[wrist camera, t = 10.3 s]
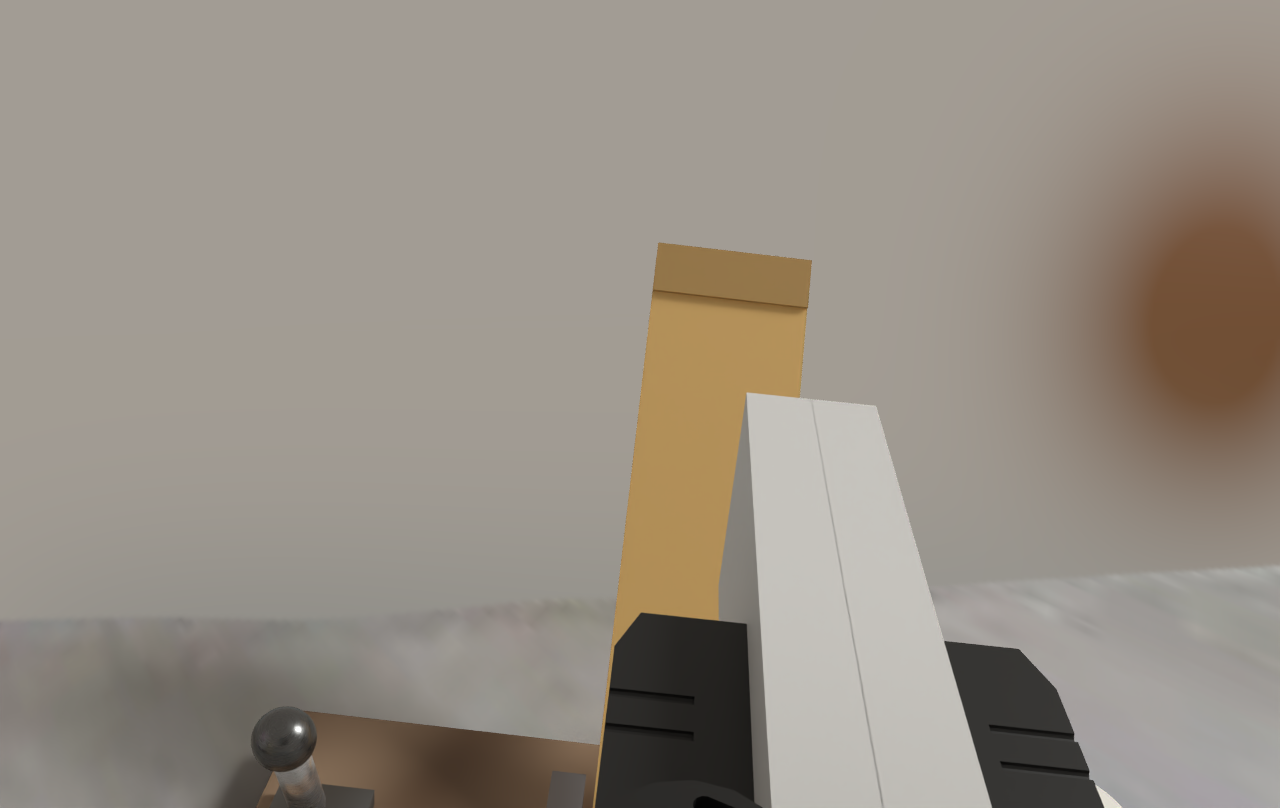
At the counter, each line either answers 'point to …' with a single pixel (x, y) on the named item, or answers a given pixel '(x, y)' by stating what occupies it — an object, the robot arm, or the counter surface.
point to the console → (442, 767)
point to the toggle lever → (290, 755)
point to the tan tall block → (701, 419)
